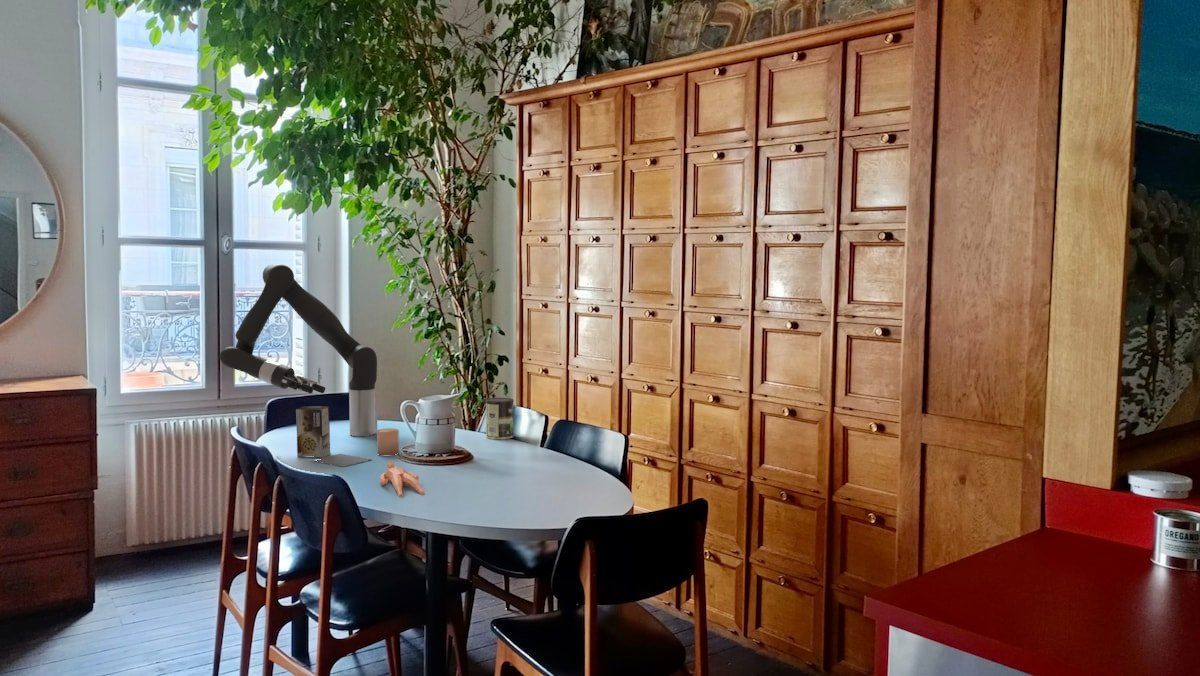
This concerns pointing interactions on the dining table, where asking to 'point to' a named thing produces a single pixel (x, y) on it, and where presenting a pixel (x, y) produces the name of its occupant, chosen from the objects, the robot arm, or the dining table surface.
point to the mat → (342, 460)
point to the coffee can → (499, 418)
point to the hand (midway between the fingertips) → (318, 390)
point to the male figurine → (400, 479)
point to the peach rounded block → (387, 441)
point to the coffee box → (313, 431)
